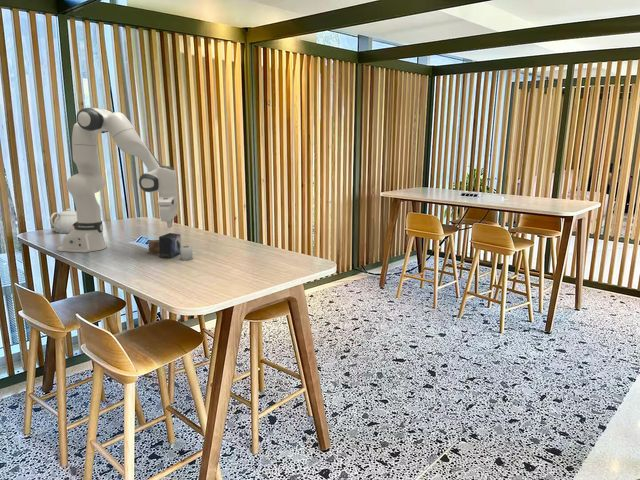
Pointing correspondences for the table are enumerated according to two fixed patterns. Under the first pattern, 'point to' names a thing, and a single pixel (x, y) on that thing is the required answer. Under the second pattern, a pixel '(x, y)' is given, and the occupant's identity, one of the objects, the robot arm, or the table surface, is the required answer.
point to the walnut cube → (153, 246)
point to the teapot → (64, 221)
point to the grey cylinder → (186, 252)
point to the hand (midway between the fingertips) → (169, 227)
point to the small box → (169, 245)
